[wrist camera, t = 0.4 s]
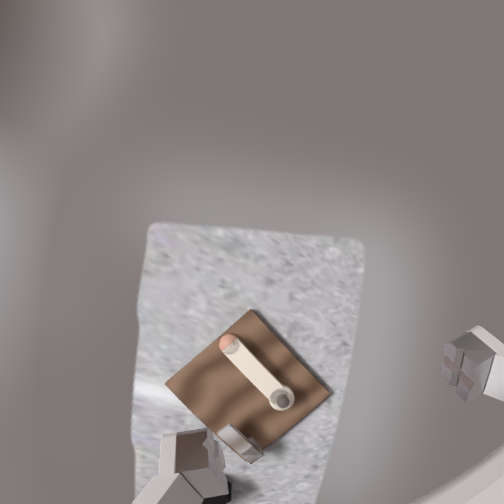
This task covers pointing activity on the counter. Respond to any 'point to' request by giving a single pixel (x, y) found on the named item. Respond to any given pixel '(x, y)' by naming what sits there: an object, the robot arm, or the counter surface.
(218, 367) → the pivot base
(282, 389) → the link
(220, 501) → the digital camera
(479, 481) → the robot arm
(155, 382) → the counter surface
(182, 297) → the counter surface
